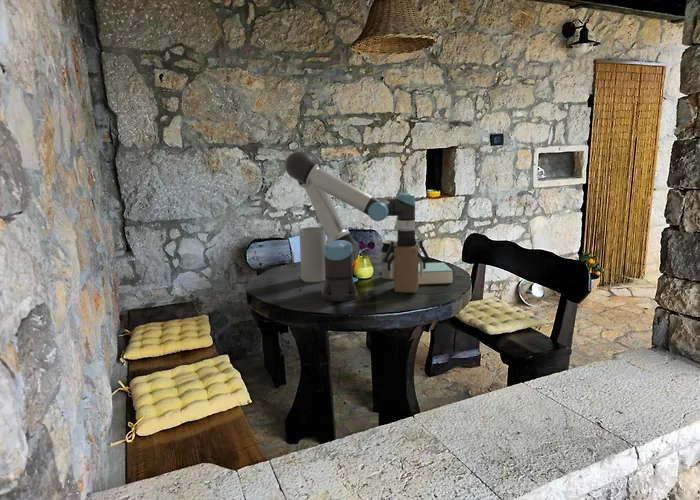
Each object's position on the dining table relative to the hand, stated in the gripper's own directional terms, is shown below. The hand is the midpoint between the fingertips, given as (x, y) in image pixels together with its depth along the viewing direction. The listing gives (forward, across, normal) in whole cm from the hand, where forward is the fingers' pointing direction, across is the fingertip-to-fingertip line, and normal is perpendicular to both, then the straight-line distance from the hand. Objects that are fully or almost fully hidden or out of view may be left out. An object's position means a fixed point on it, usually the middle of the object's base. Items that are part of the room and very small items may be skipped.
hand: (406, 277), depth 207 cm
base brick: (+6, +15, +16) cm, 23 cm away
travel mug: (+6, -4, +22) cm, 23 cm away
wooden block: (+6, 0, 0) cm, 6 cm away
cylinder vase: (+6, -41, +24) cm, 48 cm away
